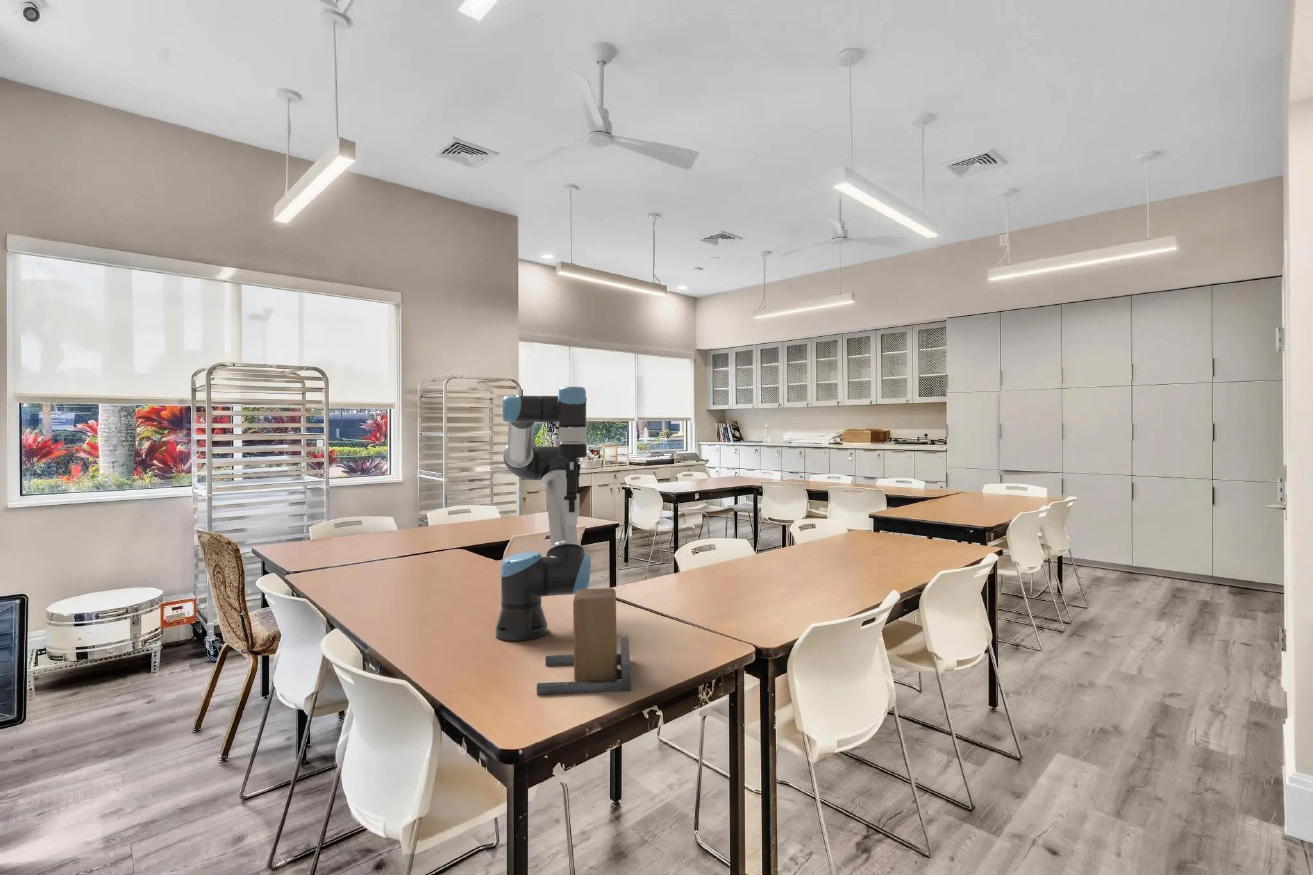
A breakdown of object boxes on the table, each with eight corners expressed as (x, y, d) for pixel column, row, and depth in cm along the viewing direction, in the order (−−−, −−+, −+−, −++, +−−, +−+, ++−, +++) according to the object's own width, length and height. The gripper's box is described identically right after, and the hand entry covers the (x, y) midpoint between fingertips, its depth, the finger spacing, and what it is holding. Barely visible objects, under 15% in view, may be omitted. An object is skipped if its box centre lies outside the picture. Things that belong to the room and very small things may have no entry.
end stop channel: (536, 695, 135) (536, 668, 135) (546, 663, 155) (546, 639, 155) (630, 690, 136) (630, 664, 136) (628, 659, 156) (628, 636, 156)
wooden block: (576, 669, 150) (575, 588, 151) (616, 667, 151) (615, 587, 151) (574, 684, 140) (572, 598, 141) (617, 682, 141) (615, 596, 141)
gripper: (562, 442, 178) (562, 513, 179) (555, 444, 153) (555, 528, 154) (587, 441, 179) (588, 513, 179) (584, 444, 154) (585, 527, 154)
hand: (573, 520), depth 166 cm, fingers open, 13 cm apart
